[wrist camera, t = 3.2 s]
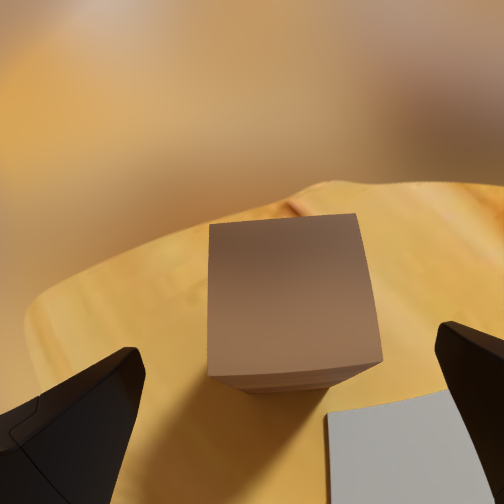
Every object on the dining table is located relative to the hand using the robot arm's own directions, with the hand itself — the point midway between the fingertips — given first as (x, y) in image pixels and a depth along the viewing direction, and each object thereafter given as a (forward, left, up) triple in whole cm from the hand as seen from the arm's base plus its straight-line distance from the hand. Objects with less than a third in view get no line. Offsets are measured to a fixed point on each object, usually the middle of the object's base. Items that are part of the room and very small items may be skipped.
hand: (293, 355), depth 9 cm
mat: (-2, -13, -9) cm, 16 cm away
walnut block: (+1, +1, -9) cm, 9 cm away
